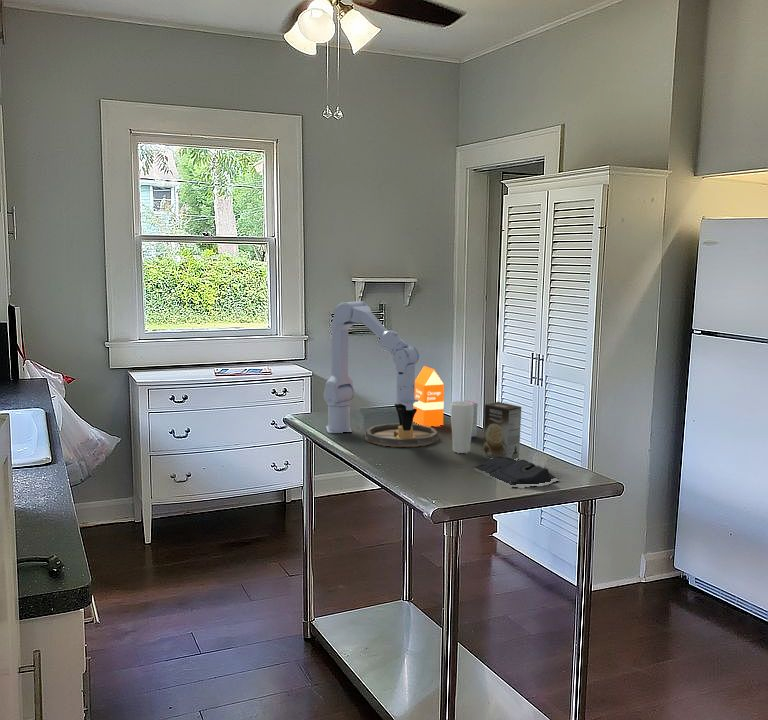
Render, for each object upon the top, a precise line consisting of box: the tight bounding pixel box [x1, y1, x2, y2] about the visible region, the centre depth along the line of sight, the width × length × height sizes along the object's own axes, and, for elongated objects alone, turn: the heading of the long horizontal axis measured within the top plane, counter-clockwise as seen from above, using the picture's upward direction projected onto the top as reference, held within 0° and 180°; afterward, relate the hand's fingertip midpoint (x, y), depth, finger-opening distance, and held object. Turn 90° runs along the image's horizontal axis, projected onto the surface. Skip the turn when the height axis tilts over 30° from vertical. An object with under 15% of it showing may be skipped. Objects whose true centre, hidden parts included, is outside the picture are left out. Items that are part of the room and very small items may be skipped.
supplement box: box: [465, 400, 478, 439], centre depth 255 cm, size 6×6×12 cm
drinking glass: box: [450, 400, 474, 454], centre depth 235 cm, size 7×7×15 cm
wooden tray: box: [363, 422, 440, 448], centre depth 253 cm, size 24×24×3 cm
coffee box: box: [482, 401, 522, 459], centre depth 228 cm, size 9×6×16 cm
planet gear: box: [395, 425, 416, 439], centre depth 246 cm, size 6×6×4 cm
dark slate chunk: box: [474, 456, 557, 485], centre depth 212 cm, size 15×22×5 cm
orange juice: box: [412, 365, 445, 428], centre depth 273 cm, size 8×9×20 cm
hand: (405, 428), depth 246 cm, fingers open, 5 cm apart
